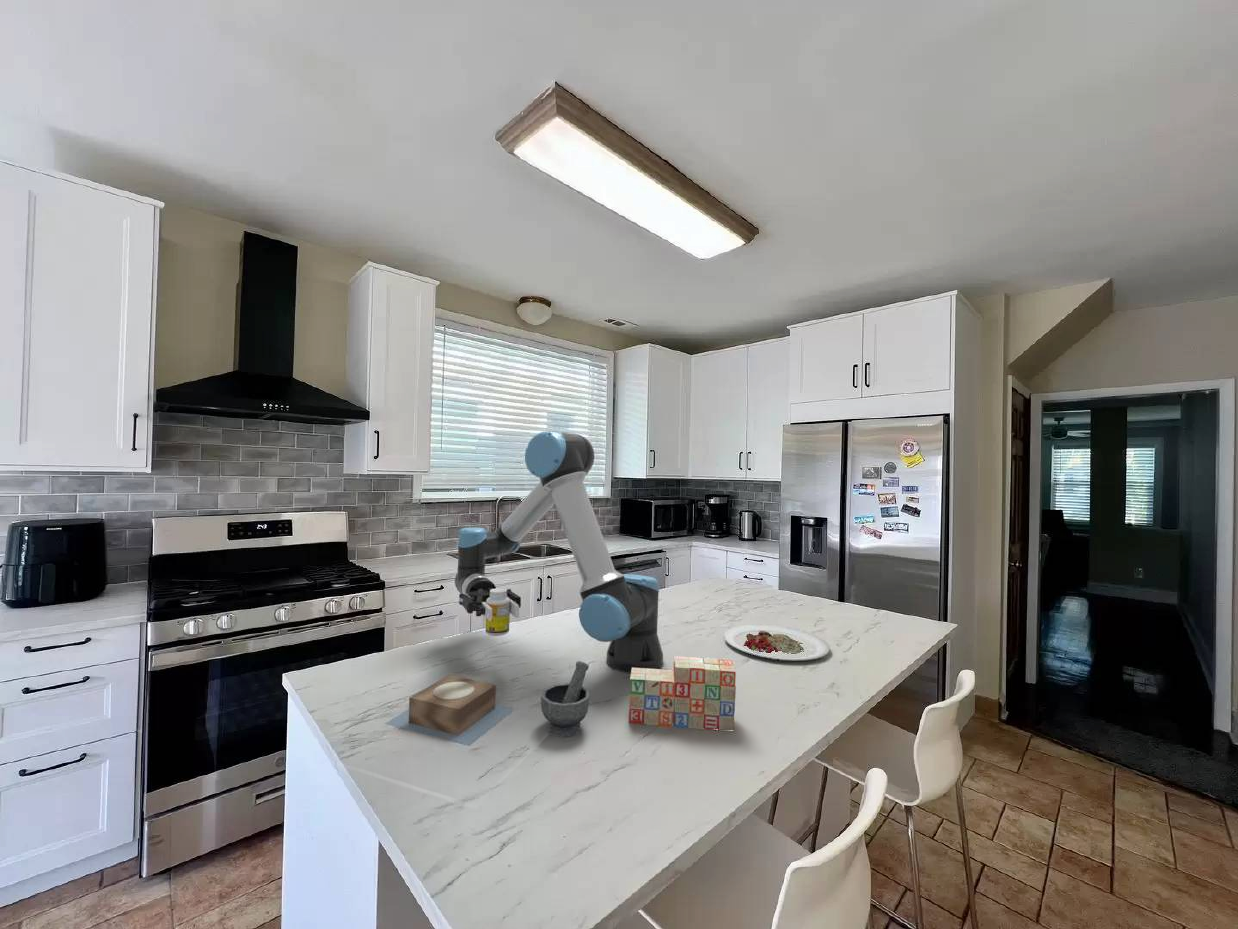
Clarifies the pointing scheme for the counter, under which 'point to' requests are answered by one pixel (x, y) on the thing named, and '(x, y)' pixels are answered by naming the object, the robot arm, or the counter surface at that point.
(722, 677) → the stack of blocks
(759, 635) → the plated food
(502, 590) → the supplement bottle
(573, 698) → the mortar and pestle
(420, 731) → the mat
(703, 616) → the counter surface
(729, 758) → the counter surface
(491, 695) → the foundation block
